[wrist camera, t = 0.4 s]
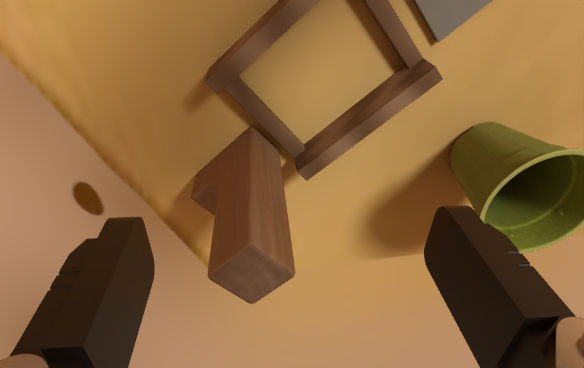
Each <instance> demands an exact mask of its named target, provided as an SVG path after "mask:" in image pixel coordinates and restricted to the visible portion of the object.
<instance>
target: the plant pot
mask: <svg viewBox="0 0 584 368" xmlns="http://www.w3.org/2000/svg"><path fill="white" fill-rule="evenodd" d="M449 161H450V165H451V168H452V170H453V172H454V174H455V175H456V177H457V179H458V181H459V182H460V184H461V186H462V188H463V190H464V191H465V193H466V195H467V197H468V199H469V200H470V202H471V204H472V206H473V208H474V211H475V212H476V214H477V215H478V216H479V217H480V219H481V220H482V221H483V222H484V223H489V224H490V225H492V226H493V227H495V228H496V229H497V230H499V231H500V232H502V233H503V234H505V235H506V236H507V237H508V238H509V239H510V240H511V242H512V243H513V244H514V245H515V246H516V247H517V249H518V250H519V253H520V254H521V253H529V252H534V251H538V250H541V249H544V248H547V247H549V246H552V245H554V244H556V243H558V242H560V241H562V240H564V239H566V238H567V237H569V236H570V235H572V234H573V233H575V232H576V231H577V230H579V229H580V228H581V227H582V226H583V225H584V150H583V149H567V148H565V147H562V146H558V145H551V144H549V143H546V142H543V141H541V140H538V139H536V138H533V137H531V136H528V135H526V134H523V133H521V132H519V131H516V130H514V129H511V128H509V127H506V126H503V125H501V124H498V123H493V122H489V123H482V124H478V125H476V126H474V127H472V128H471V129H470V130H469V131H468V132H466V133H464V134H462V135H461V136H460V137H459V138H458V139H457V140H456V142H455V143H454V145H453V147H452V149H451V152H450V158H449Z"/></svg>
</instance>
